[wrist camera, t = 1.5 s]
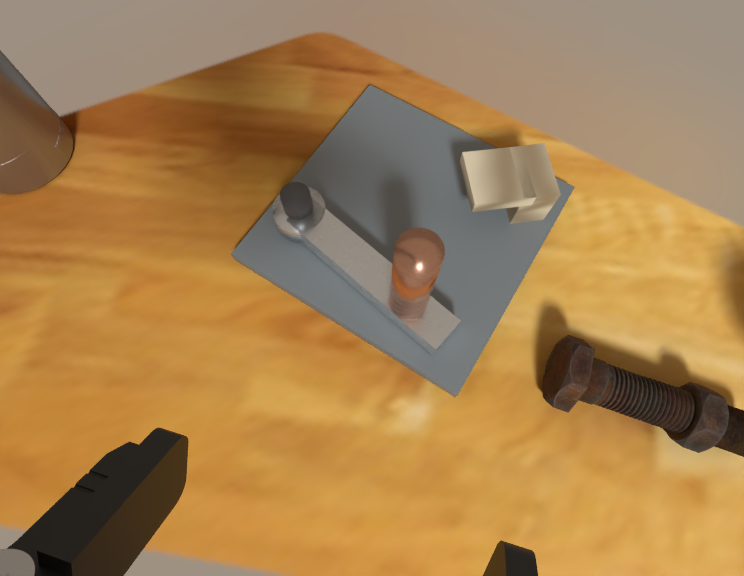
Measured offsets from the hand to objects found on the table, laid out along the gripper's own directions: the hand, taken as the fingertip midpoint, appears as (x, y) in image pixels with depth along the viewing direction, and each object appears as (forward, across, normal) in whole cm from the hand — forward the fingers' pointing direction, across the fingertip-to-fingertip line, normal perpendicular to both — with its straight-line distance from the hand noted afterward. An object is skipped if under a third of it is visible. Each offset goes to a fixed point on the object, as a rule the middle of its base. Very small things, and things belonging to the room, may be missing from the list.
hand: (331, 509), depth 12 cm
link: (+28, +5, +5) cm, 29 cm away
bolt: (+26, -19, +10) cm, 34 cm away
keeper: (+35, -5, -2) cm, 36 cm away
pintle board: (+33, +2, +2) cm, 33 cm away
